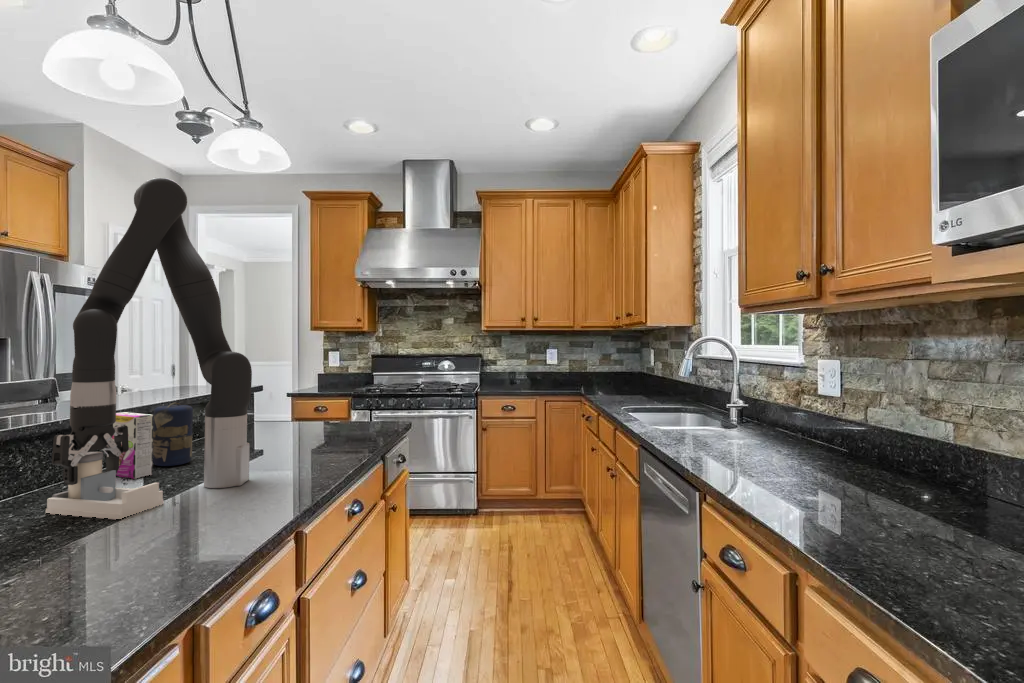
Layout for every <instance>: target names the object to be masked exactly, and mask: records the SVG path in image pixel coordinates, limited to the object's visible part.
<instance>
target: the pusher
mask: <svg viewBox="0 0 1024 683" xmlns="http://www.w3.org/2000/svg"><path fill="white" fill-rule="evenodd" d="M116 479H117V477H116V470H112V471H108V472H106V471H105V472H102V473H100V474H96V475H92V476H88V477H84V478H81V497H80V499H83V500H96V501H107V500H110V499H113V498H115V492H116V488H117V487H116V486H117V485H116V483H117V480H116Z"/></svg>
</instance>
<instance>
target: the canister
mask: <svg viewBox="0 0 1024 683" xmlns="http://www.w3.org/2000/svg"><path fill="white" fill-rule="evenodd" d="M193 408H194V407H192V406H191V405H186V404H181V403H178V402H172V403H170V404H169V405H160V406H157V407H155V408H154V410H153V451H152V465H155V466H157V467H173V466H180V465H184V464H185V465H186V464H187V463H189V462H191V461H192V458H193V422H194V421H193V420H194V418H193V415H194V414H193V413H194V412H193V411H194V410H193Z"/></svg>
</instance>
